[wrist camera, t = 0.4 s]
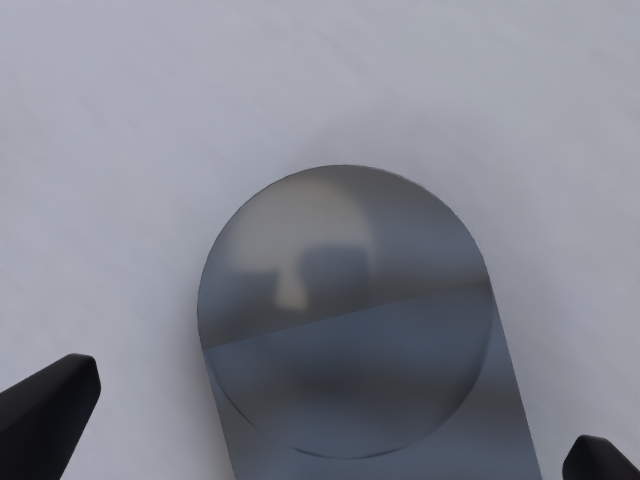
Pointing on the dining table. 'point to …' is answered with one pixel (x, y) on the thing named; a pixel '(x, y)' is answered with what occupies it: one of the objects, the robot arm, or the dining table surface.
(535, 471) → the grey kitchen scale
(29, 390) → the robot arm
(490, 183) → the dining table surface
